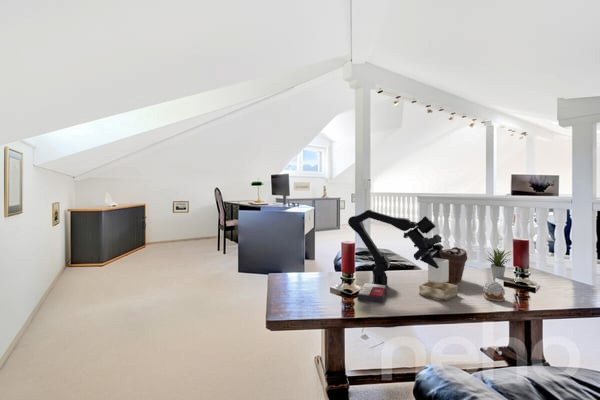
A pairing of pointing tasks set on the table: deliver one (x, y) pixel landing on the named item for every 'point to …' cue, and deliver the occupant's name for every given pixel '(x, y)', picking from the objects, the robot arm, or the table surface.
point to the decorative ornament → (494, 289)
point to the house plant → (498, 263)
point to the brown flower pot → (455, 263)
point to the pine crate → (438, 290)
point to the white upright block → (439, 271)
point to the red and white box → (372, 293)
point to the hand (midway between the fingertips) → (441, 266)
